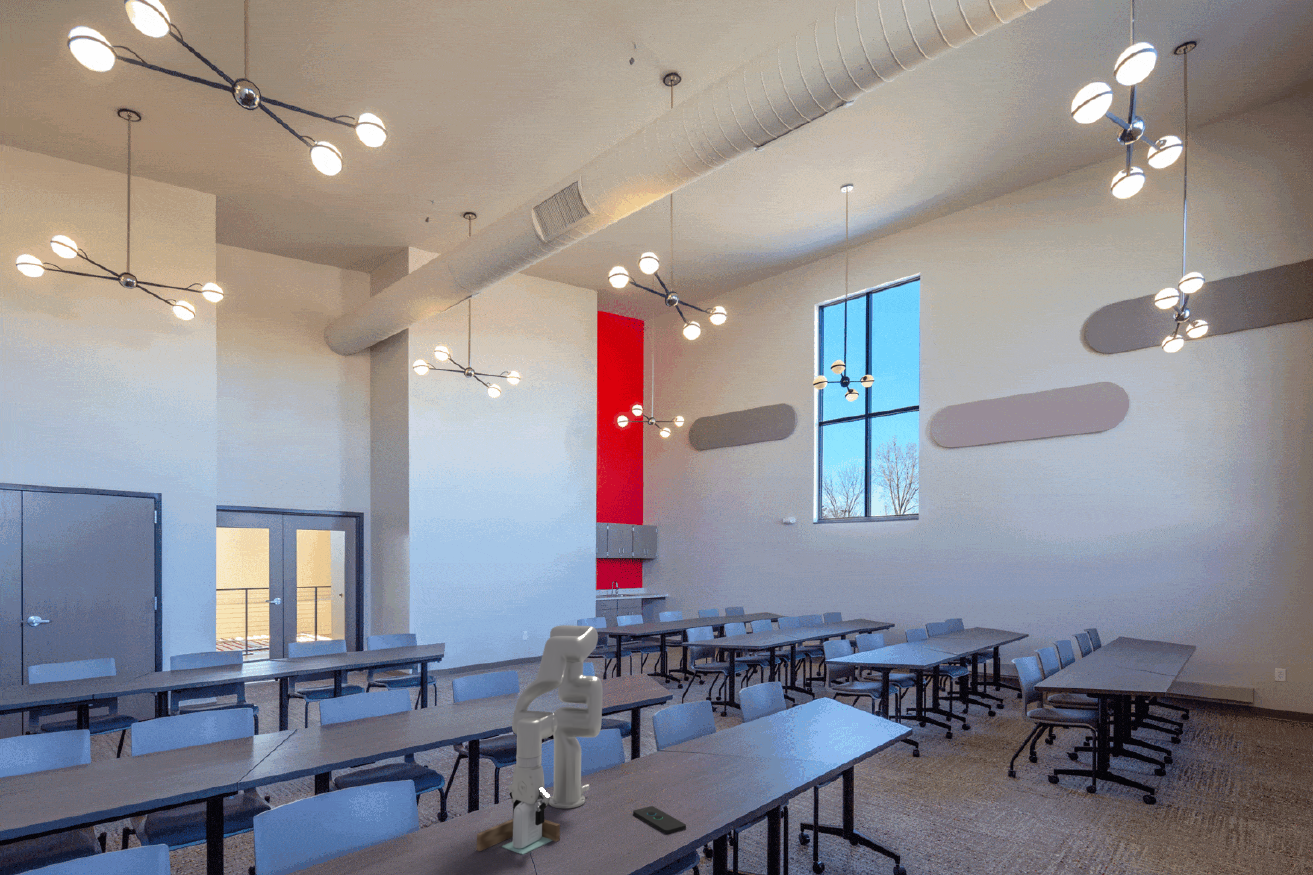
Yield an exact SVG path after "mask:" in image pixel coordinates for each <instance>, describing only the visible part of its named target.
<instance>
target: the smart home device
mask: <svg viewBox="0 0 1313 875" xmlns="http://www.w3.org/2000/svg"><path fill="white" fill-rule="evenodd" d="M632 815H633V816H634V817H635V818H638V819H640V820H641V821H643V822H644V823H646V824H648V825H649V826H651V827H653V828H654V829H656V830H658V831H660V832H661V833H663V834H665V835H669V834H674V833H677V832H681V831H683V830H686V829H687V824H685V823H684V822H682V821H681V820H679V819H677V818H675V817H674V816H671V815H670V814H668V813H666V812H664V811H662V810H661V809H658V808H657V807H655V806H653V805H651V806H647V807H642V808H638V809H634V810H633V811H632Z"/></svg>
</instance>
